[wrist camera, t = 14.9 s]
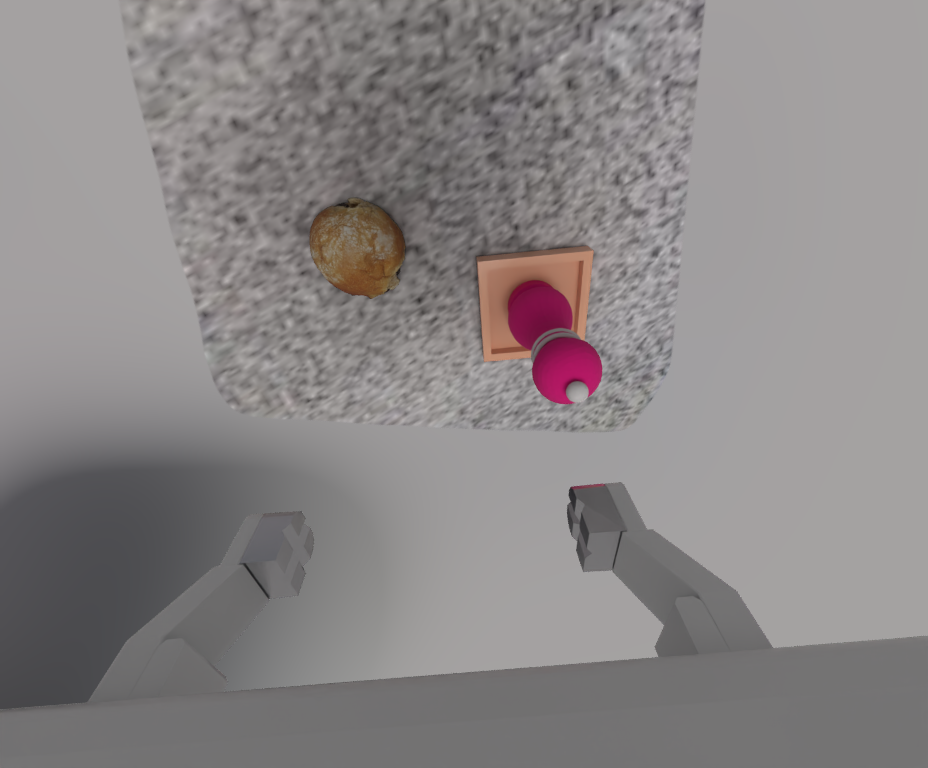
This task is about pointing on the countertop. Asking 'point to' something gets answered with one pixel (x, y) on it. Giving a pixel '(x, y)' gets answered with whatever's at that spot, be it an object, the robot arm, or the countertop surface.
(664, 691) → the robot arm
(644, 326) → the countertop surface
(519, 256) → the terracotta tray
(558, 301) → the pepper mill
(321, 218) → the bread roll
